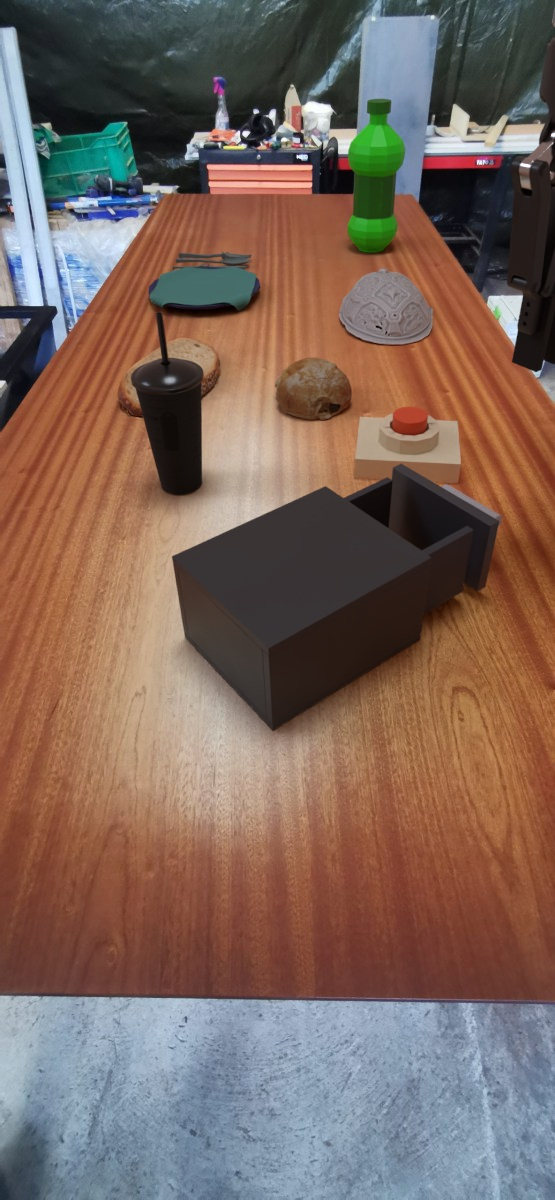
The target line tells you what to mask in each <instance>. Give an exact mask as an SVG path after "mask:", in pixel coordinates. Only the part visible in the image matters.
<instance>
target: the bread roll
mask: <svg viewBox="0 0 555 1200" xmlns="http://www.w3.org/2000/svg"><path fill="white" fill-rule="evenodd" d="M274 388H276V390H275V395H276V402H277V405H278V406H279V407H280V408H281V409H282V411H283V412H284V413H285V414H286V415H287V414H288V415H290V416H293V417H295V418H299V419H301V420H308V421H309V420H312V421H313V420H315V421H316V420H320V421H326V420H329V419H330V418H332V417H334V416H336V415H338V414H339V413H341V412H342V411H344V410H346V409H348V407H349V405H350V404H351V400H352V394H353V391H352V385H351V383H350V380H349V378H348V376H347V374H346V373H345V372H344V371H343V370H341V369H340V368H339V367H338V365H337V363H335V362H332V361H330V360H327V359H324V358H320V357H315V356H314V357H307V358H301V359H298V360H295V361H294V362H293V363H291V364H289V365H288V366H287V367H286V368H284V369H282V371H281V376H279V377H278V378H277V379H276V381H275V383H274Z"/></svg>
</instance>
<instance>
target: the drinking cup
mask: <svg viewBox="0 0 555 1200" xmlns="http://www.w3.org/2000/svg"><path fill="white" fill-rule="evenodd" d="M155 319H156V326H157V334H158V338H159V339H158V341H159V342H158V343H159V347H160V349H161V356H162V359H157V360H154V361H151V362H149V363H146V364H144V365H142V366H140V367H138V368H137V369H135V370H134V372H133V373H132V375H131V382H132V385H133V386H134V387H135V388H136V392H137V396H138V400H139V403H140V407H141V411H142V415H143V416H142V419H143V423H144V426H145V430H146V433H147V437H148V441H149V444H150V448H151V453H152V456H153V461H154V464H155V468H156V472H157V475H158V479H159V483H160V488H161V489H162V491H164V492H165V493H167V494H169V495H174V496H184V495H188V494H192V493H194V492H196V491H198V490H199V489H200V488H201V486H202V484H203V433H202V432H203V427H202V426H203V423H202V419H203V415H202V411H203V407H202V406H203V405H202V404H203V403H202V397H203V396H201V382H202V380H203V377H204V372H203V369H202V367H201V366H200V365H198V364H197V363H195V362H192V361H189V360H184V359H178V358H168V352H167V344H166V343H167V336H166V329H165V322H164V314H163V312H162V311H158V312H156V313H155Z"/></svg>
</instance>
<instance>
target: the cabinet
mask: <svg viewBox="0 0 555 1200" xmlns="http://www.w3.org/2000/svg"><path fill="white" fill-rule="evenodd" d="M171 559H172V565H173V572H174V579H175V584H176V592H177V597H178V604H179V609H180V616H181V622H182V628H183V634H184V638H185V639H186V640H187V642H188V643H189V644H190V645H191V646H192V647H193V648H194V649H195V650H196V652H198V653H199V654H200V655H201V656H202V658H204V659H205V661H206V662H207V663H208V664H209V665H210V666H211V667H212V668H213V669H214V670H215V672H217V673H218V674H219V676H221V678H222V679H223V680H224V681H225V682H226V683H227V684H228V685H229V686H230V687H231V688H232V689H233V690H234V691H235V692H236V693H237V695H239V697H240V698H241V699H242V700H243V701H244V702H245V703H246V704H247V705H248V706H249V707H250V708H251V710H253V711H254V712H255V714H256V715H257V716H258V717H259V718H260V719H261V720H262V722H264V723H265V724H266V726H268V728H270V730H272V731H275V730H276V729H278V728H280V727H282V726H283V725H285V724H286V723H288V722H289V721H291V720H293V719H294V718H296V717H298V716H299V715H301V714H303V713H305V712H306V711H307V710H309V709H311V708H312V707H314V706H316V705H317V704H319V703H320V702H322V701H323V700H325V699H327V698H328V697H330V696H332V695H333V694H335V693H336V692H338V691H340V690H342V689H343V688H345V687H347V686H348V685H349V684H351V683H353V682H354V681H356V680H358V679H359V678H361V677H362V676H364V675H365V674H368V673H369V672H370V671H373V670H374V669H375V668H377V667H379V666H380V665H382V664H384V663H385V662H387V661H389V660H390V659H392V658H393V657H396V656H397V655H398V654H400V653H401V652H403V651H405V650H406V649H407V648H410V647H411V646H412V645H415V643H417V642H419V641H420V640H421V634H422V629H423V621H424V608H425V601H426V594H427V587H428V580H429V573H430V566H431V559H432V557H430V556H429V555H427V554H426V553H424V552H423V551H421V550H420V549H418V548H417V547H415V546H414V545H412V544H411V543H409V542H408V541H407V540H405V539H404V538H402V537H401V536H399V535H398V534H396V533H395V532H393V531H392V530H390V529H389V528H387V527H386V526H384V525H383V524H381V523H380V522H378V521H377V520H375V519H374V518H372V517H371V516H369V515H368V514H366V513H365V512H363V511H362V510H360V509H359V508H357V507H356V506H354V505H353V504H351V503H350V502H349V501H347V500H346V499H344V496H341V495H339V494H338V493H337V492H335V491H334V490H333V489H331V488H329V487H328V486H323V487H320V488H318V489H316V490H314V491H311V492H309V493H307V494H305V495H302V496H300V497H298V498H296V499H294V500H292V501H290V502H288V503H285V504H283V505H281V506H279V507H277V508H274V509H272V510H270V511H268V512H266V513H264V514H261V515H259V516H257V517H255V518H253V519H250V520H248V521H246V522H244V523H242V524H240V525H237V526H235V527H233V528H231V529H228V530H227V531H224V532H222V533H220V534H218V535H216V536H213V537H211V538H209V539H206V540H205V541H203V542H200V543H198V544H196V545H194V546H191V547H190V548H187V549H185V550H183V551H180V552H178V553H176V554H175V555H172V556H171Z"/></svg>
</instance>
